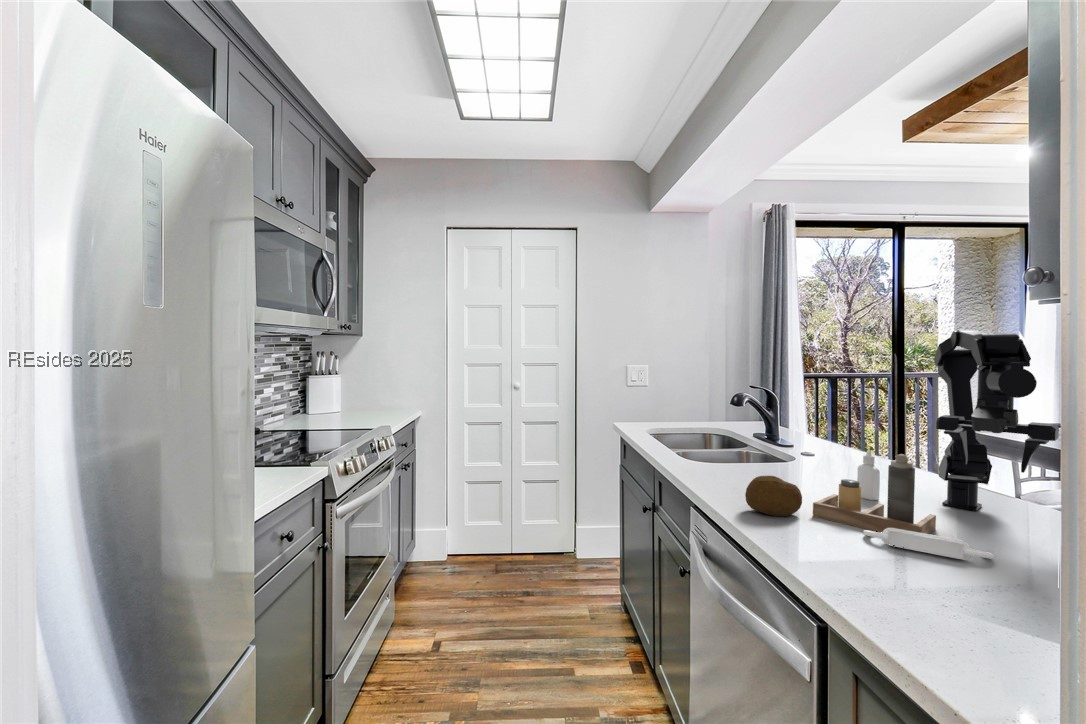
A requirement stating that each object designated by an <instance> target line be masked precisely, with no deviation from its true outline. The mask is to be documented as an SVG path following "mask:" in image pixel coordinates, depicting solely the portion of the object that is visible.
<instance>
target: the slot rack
mask: <svg viewBox="0 0 1086 724" xmlns="http://www.w3.org/2000/svg"><path fill="white" fill-rule="evenodd" d="M838 499H839V494H834V493H833V494H830V495H828V496H826V497H824V498H822V499H820V500H817V501H814V502H813V503H812V517H814V518H819V519H824V520H827V521H828V520H829V521H832V522H836V523H839V524H844V525H848V526H852V527H856V528H860V529H863V530H869V531H872V530H873V531H875V532H876V531H878V532H883V531H884V529H886V528H897V529H902V530H908V531H914V532H919V533H925V534H932V533H933V532H934V531H936V527H937V525H936V524H937V515H936V514H931V513H930V514H928V515H926V516H925V517H924V518H923V519H921V520H920V521H918V522H917V523H914V524H913V523H908V522H904V521H899V520H895V519H890V518H887V517H885V504H883V503H877V504H875V505H874V506H871V507H870V508H868V509H866V510H864V511H863V512H862V511H861V512H859V511H854V510H850V509H845V508H841V507H838Z"/></svg>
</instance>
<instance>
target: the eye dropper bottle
mask: <svg viewBox="0 0 1086 724" xmlns="http://www.w3.org/2000/svg"><path fill="white" fill-rule="evenodd" d="M862 458H863V460H862V462H863V464H862V463H861V464H860V465H858V466H857V474H856V475H857V480H856V481H858V482H860V484H859V486H861V487H862V488H861V499H865V500H867V501H879V500H880V487H881V486H880V484H881V481H880V480H881V479H880V478H881V476H880V475H881V473H880V470H879V468H878V467H877V466H876V465H875V456H874V455H872V452H871V450H866V454H864V455H863V456H862Z"/></svg>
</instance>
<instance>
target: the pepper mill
mask: <svg viewBox="0 0 1086 724" xmlns="http://www.w3.org/2000/svg"><path fill="white" fill-rule="evenodd" d="M913 465H914V462H910V461H909V458H908V455H906V454H903V453H900V454H897V455H896V456H895V460H891V461H890V464H888V466H887V467H888V469H887V470H888V473H887V474H888V475H887V476H888V477H887V506H886V507H887V508H886V509H887V511H886V513H887V514H886V516H887V517H886V518H890V519H895V520H899V521H904V522H908V523H913V524H915V520H914V518H915V486H916V485H915V483H916V482H915V481H916V479H915V478H916V468H915V467H914V466H913Z"/></svg>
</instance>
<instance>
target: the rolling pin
mask: <svg viewBox="0 0 1086 724" xmlns="http://www.w3.org/2000/svg"><path fill="white" fill-rule="evenodd" d="M862 532H863V535H865V536H868V537H872V538H877V539H881V541H882V542H883V544H884V545H886V544H888V545H887V546H891V547H897V548H900V549H906V550H912V551H916V552H922V553H926V554H927V553H928V554H932V555H937V556H941V557H947V558H952V559H958V560H962V561H969V559H970V558H971V556H972V557H978V558H984V559H990V560H991V559H992V560H993V559H994V558H995V555H994V553H991V552H989V551H988V552H987V551H983V550H978V549H973V548H971V547H970V545H969V543H968V542H967V541H965V540H961V539H958V538H953V537H947V536H941V535H935V534H932V533H930V534H925V533H919V532H914V531H908V530H902V529H897V528H886V529H884V531H883V532H882V533H881V532H876V531H872V530H868V529H863V531H862ZM889 544H890V545H889ZM893 545H895V546H893ZM903 547H904V548H903Z"/></svg>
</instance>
